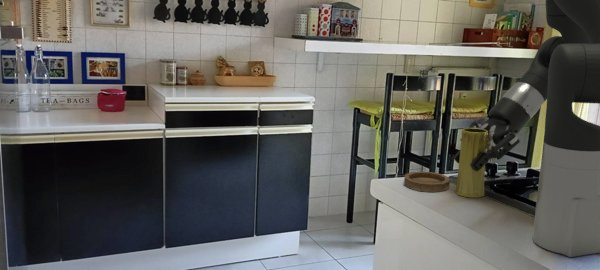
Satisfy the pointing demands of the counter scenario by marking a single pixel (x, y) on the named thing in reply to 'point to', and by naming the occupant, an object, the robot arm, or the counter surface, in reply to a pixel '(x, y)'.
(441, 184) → the round tray
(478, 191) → the vase
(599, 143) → the robot arm
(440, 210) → the counter surface
